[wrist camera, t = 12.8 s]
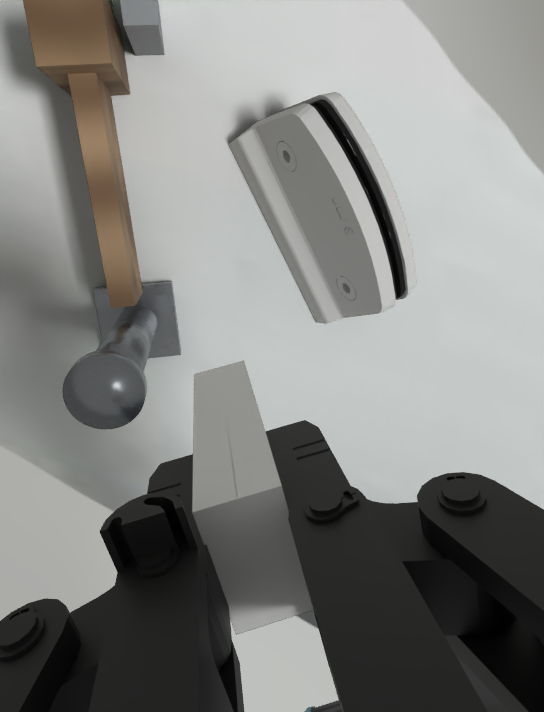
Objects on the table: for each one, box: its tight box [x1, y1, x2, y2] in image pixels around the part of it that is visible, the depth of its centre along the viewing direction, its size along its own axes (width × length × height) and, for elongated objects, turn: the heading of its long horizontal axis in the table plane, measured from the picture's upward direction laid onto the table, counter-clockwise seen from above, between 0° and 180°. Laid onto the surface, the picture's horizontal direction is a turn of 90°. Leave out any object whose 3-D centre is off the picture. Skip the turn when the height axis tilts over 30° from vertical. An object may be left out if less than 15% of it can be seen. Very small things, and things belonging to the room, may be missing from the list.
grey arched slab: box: [229, 92, 416, 323], centre depth 35 cm, size 17×5×10 cm, turn 27°
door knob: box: [63, 281, 181, 429], centre depth 32 cm, size 6×6×16 cm
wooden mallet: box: [23, 0, 143, 308], centre depth 32 cm, size 18×4×8 cm, turn 5°
